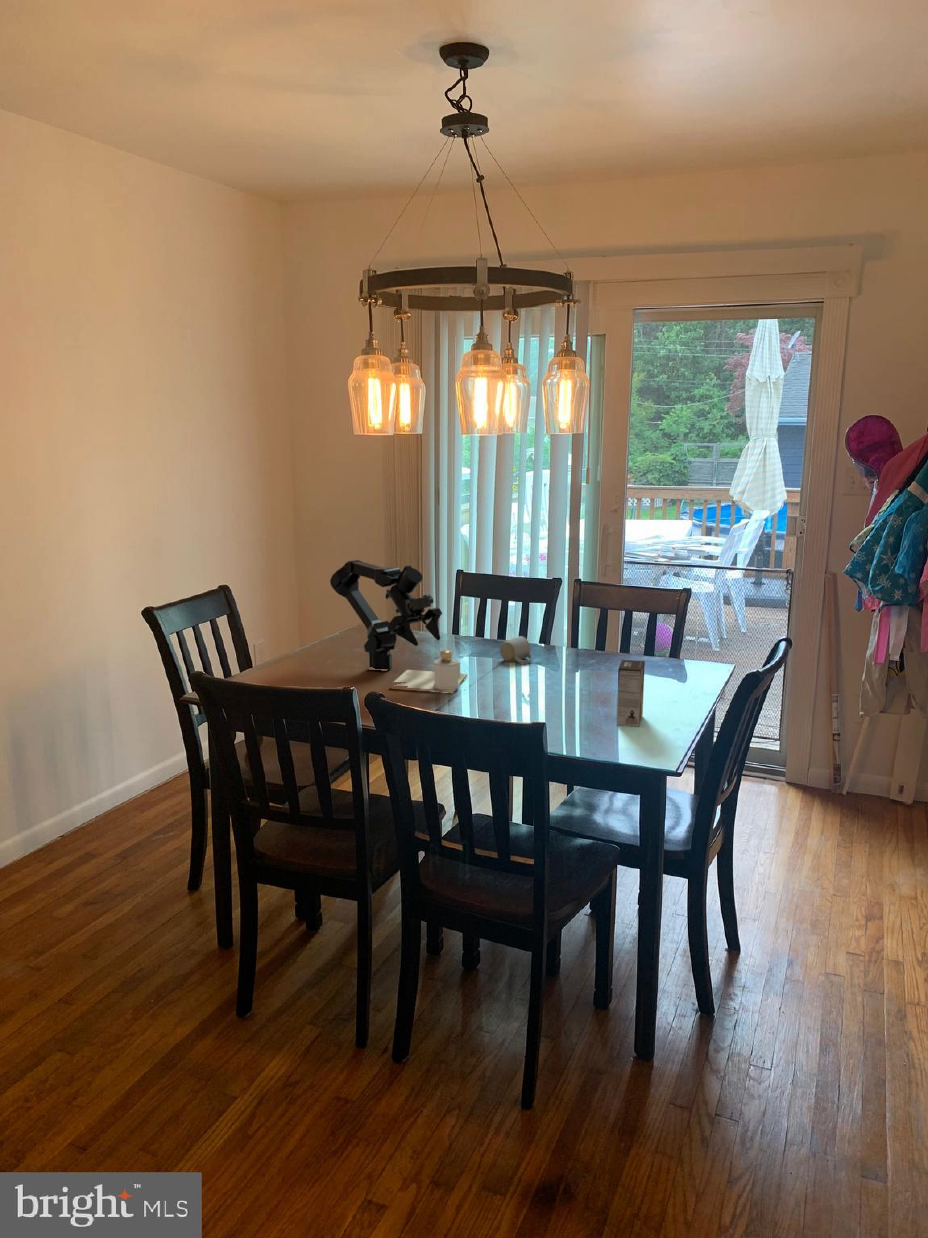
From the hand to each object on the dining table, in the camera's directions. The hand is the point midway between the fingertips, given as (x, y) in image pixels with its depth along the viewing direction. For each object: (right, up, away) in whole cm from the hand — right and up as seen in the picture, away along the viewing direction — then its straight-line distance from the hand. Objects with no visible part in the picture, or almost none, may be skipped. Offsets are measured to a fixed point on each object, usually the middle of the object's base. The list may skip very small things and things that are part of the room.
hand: (428, 642), depth 273 cm
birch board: (0, -13, +4) cm, 13 cm away
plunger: (+6, -12, -3) cm, 13 cm away
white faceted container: (+6, -13, -2) cm, 15 cm away
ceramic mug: (+29, -7, +29) cm, 41 cm away
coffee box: (+56, -21, -30) cm, 67 cm away
